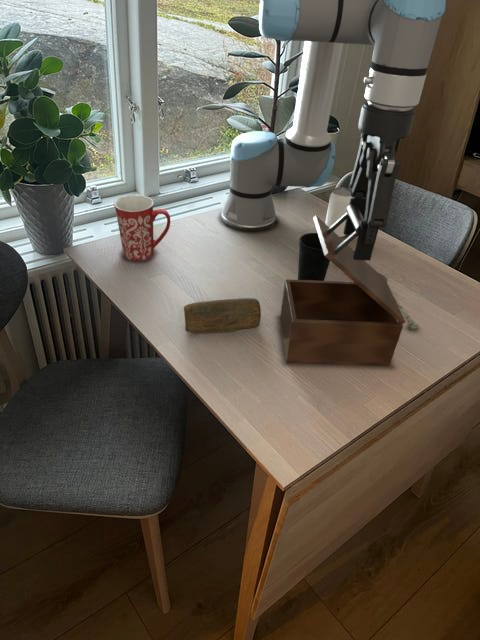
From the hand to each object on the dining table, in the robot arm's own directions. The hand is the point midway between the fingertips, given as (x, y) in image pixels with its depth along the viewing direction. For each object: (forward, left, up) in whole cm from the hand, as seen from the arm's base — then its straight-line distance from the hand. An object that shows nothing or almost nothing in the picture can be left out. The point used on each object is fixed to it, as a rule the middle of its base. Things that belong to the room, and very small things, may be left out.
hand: (356, 245), depth 81 cm
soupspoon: (-15, +15, -22) cm, 30 cm away
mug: (-31, -41, -22) cm, 56 cm away
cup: (-19, -2, -22) cm, 29 cm away
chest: (0, 0, -21) cm, 21 cm away
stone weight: (-3, -22, -22) cm, 31 cm away
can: (-47, +9, -22) cm, 52 cm away
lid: (0, +1, -5) cm, 5 cm away
